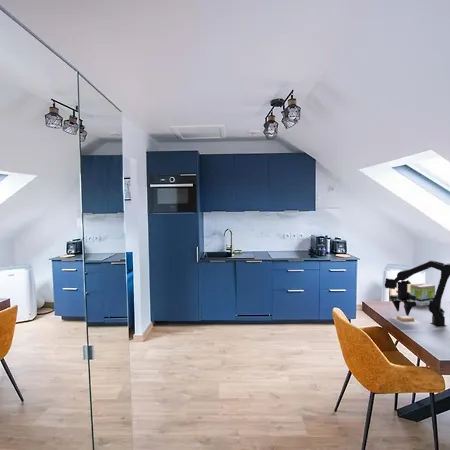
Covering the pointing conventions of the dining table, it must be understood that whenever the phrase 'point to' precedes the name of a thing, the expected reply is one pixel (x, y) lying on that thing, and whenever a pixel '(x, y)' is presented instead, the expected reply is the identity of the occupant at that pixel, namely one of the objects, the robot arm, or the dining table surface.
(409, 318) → the tile
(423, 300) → the tea box
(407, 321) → the mat
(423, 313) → the dining table surface
